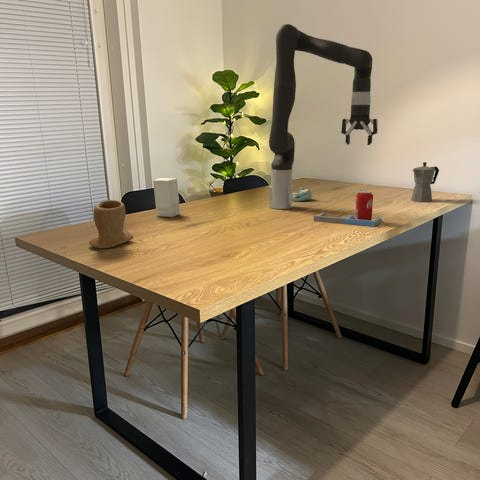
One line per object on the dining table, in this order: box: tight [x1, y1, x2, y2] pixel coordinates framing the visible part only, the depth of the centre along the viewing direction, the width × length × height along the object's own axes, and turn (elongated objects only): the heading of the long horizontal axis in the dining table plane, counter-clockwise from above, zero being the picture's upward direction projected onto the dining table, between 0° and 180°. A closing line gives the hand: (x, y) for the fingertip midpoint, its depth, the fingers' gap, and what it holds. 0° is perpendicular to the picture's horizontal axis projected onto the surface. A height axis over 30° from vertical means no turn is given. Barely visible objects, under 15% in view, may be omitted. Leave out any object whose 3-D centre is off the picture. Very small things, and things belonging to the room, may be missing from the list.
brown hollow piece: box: [88, 199, 134, 249], centre depth 156 cm, size 15×12×15 cm
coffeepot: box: [410, 161, 440, 203], centre depth 220 cm, size 15×9×18 cm, turn 113°
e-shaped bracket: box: [313, 211, 382, 228], centre depth 185 cm, size 24×11×2 cm, turn 62°
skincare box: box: [152, 177, 181, 218], centre depth 197 cm, size 8×7×16 cm
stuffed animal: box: [292, 186, 313, 203], centre depth 227 cm, size 11×7×12 cm
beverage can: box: [354, 189, 374, 221], centre depth 181 cm, size 6×6×12 cm
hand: (358, 144), depth 194 cm, fingers open, 8 cm apart
